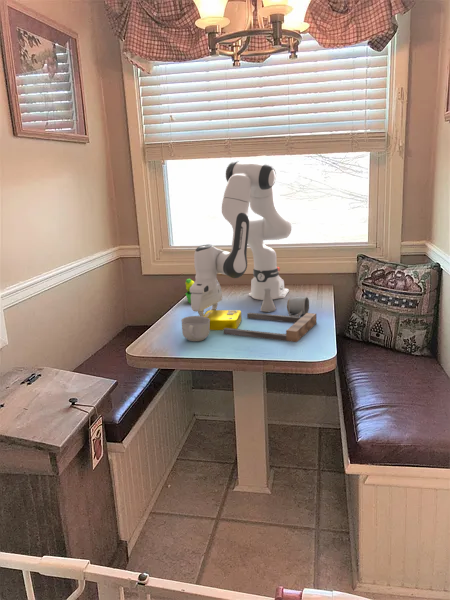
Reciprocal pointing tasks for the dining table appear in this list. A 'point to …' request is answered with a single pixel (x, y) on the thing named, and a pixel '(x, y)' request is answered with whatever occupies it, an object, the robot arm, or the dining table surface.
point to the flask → (267, 302)
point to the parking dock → (291, 334)
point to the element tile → (223, 319)
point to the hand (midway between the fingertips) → (208, 316)
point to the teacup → (195, 328)
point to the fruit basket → (188, 285)
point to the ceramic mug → (298, 306)
